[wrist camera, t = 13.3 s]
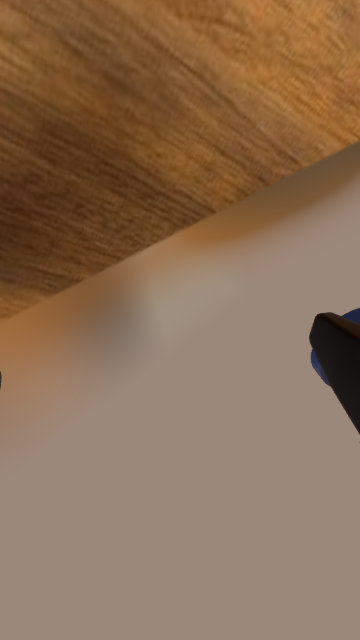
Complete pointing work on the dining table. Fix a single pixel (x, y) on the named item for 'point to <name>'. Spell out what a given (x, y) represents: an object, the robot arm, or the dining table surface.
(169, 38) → the dining table surface
